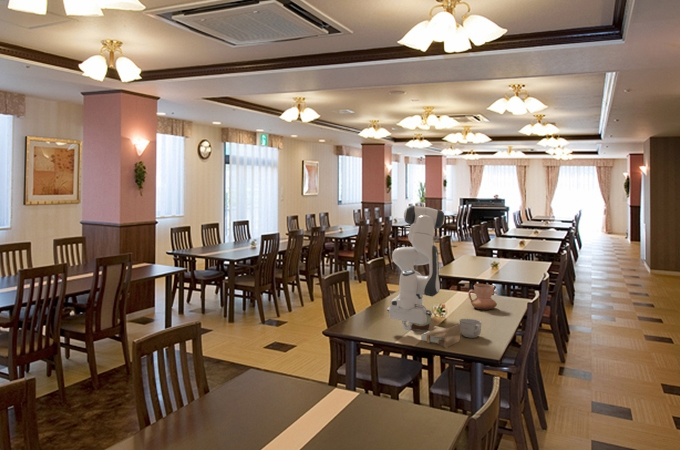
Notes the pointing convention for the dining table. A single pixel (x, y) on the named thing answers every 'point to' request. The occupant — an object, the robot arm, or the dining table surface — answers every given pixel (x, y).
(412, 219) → the robot arm
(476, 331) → the teacup
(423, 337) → the tray
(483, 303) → the ceramic jug
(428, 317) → the food container
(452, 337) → the tan notched block
